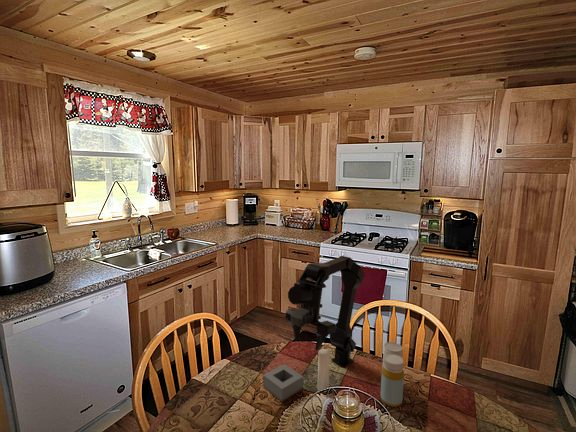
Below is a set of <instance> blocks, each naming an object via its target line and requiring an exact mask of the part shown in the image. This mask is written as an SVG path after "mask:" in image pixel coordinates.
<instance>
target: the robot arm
mask: <svg viewBox="0 0 576 432" xmlns="http://www.w3.org/2000/svg"><path fill="white" fill-rule="evenodd" d="M338 272H340V273H341V281H342V286H343V291H342V296H341V302H340V307H339V312H338V318H337V322H336V323H334V322H332V321H329V320H324V321H320V320H321V318H322V316H321V315H320V310H321V309H322V308H323V304H322V303H321V302H322V296H323V295H322V294H323V289H324V288H327V285H326V284H325V282H326V281H328V280H329V279H330V276H331V275H332V274H336V273H338ZM364 277H365V271H364V269H363V268H362V267H361V266H360V265H359V264H358V263H356V261H354V259H353V258H352V257H348V256H344V255H341V256H339V257H337V258H334V259H332V260H328V261H326V262H323V263H322V262H311V263H310V262H309V263H308V264H307V265H306V266H305V268H304V269H303V271H302V273H301V275H300V277H299V278H298V280H297V282H294V283H293V286H292V287H290V288H289V290H288V292H287V298H288V300H289V302H290V303H291V304H292V305H300V306H299V308H297V307H294V308H287V310H286V311H285V314H284V318H286V320H287V321H288V322H289V324H291V327H292V330H293V336H294V340H295V341H299V338H300V336H301V335H300V334H301V331H302V327H304V326H305V325H307V326H308V325H312V326H315V327H316V332H315V334H316V344H315V351H319V350H320V349H321V346H322V345H323V343H324V342H325V340H326V338H327V337H328V336H329V340H330V345H331V346H332V347H335V348H334V357H333V358H331V362H333V363H335V364H337V365H338V366H340V367H342V368H346V367H347V366H349V365H351V364H352V363H354V360H353V359H352V358H351V355H352V353H353V352H355V349H356V345H357V342H355V340H354V339H353V331H352V328H351V321H352V315H353V310H354V309H353V308H354V304H355V299H356V292H357V289H358V288H359V287H360V286H361V285H362V284H363V279H364Z"/></svg>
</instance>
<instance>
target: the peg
mask: <svg viewBox="0 0 576 432" xmlns="http://www.w3.org/2000/svg"><path fill="white" fill-rule="evenodd" d="M317 354H318V355H317V356H318V357H317V382H316V385H317V387H316V390H317V392H319V391H321V390H324V389H327V388H329V389H330V365H331V363H330V360H331V351H330V350H329V349H325V348H322V349H321V348H320V349H319V350H318V353H317Z"/></svg>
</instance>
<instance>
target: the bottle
mask: <svg viewBox="0 0 576 432" xmlns="http://www.w3.org/2000/svg"><path fill="white" fill-rule="evenodd" d="M404 364H405V363H404V358H403V359H402V358H401V357H400V356H398V355H395V354H387V355H385V356H384V366H383V365H382V367H383V369H381V381H380V399H381V401H382V402H383V404H385V405H386V406H389V407H392V408H396V407H399V406H401V405H402V404H403V398H404V395H403V394H404V385H405V373H404Z"/></svg>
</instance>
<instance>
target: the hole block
mask: <svg viewBox="0 0 576 432" xmlns="http://www.w3.org/2000/svg"><path fill="white" fill-rule="evenodd" d="M262 376H263V377H262V381H263V382H262V387H263V388H264V389H265V390H267V392H268V393H270V394H271V395H273V396H274V397H275V398H276V399H278V400H279V402H284V401H286V400H287V399H288V398H290V397H292V396H294V395H295V394H297V393H299V392H301V390H303V389H304V376H303V375H301V374H300V373H299V372H297V371H296V370H294V369H293V368H292V367H290V366H288V365H286V364H285V363H283V364H281V365H279V366H278V367H275V368H273V369H272V370H269V371H267V373H264V374H263V375H262Z"/></svg>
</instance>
